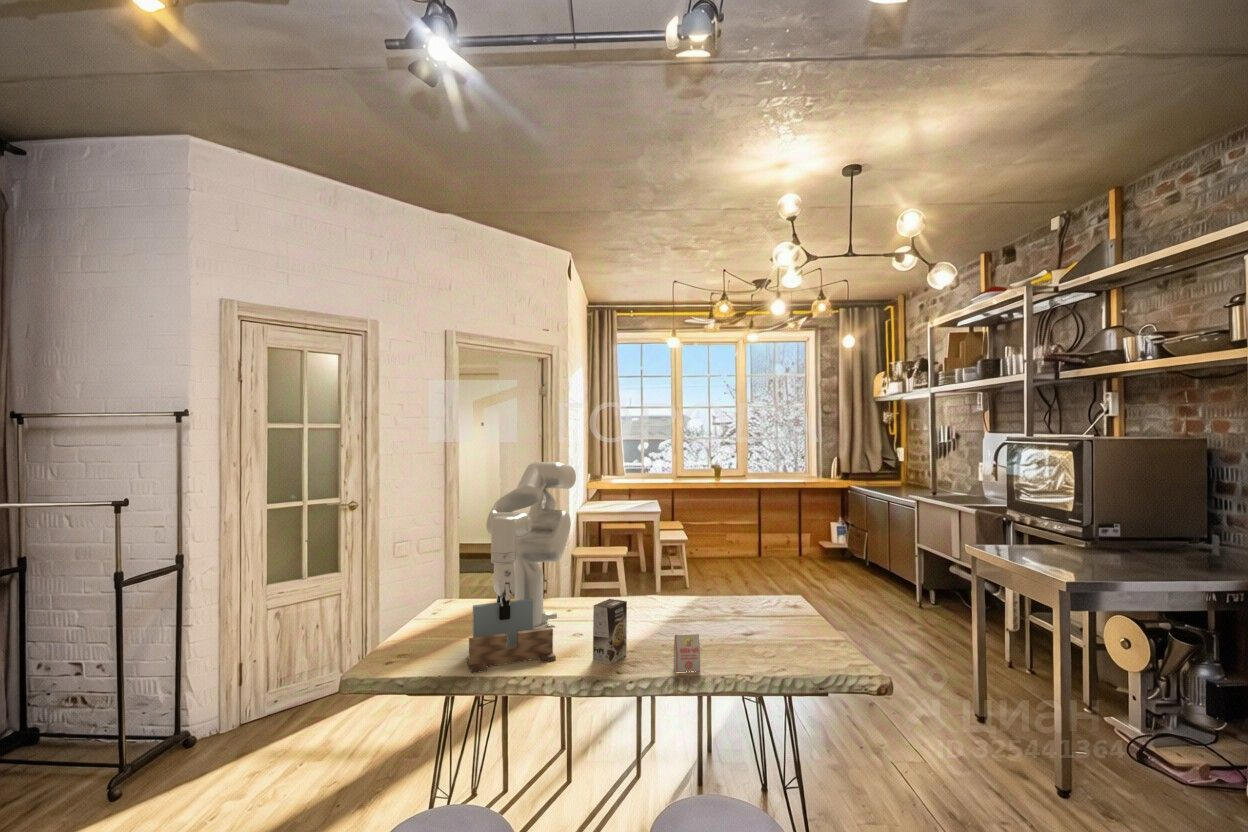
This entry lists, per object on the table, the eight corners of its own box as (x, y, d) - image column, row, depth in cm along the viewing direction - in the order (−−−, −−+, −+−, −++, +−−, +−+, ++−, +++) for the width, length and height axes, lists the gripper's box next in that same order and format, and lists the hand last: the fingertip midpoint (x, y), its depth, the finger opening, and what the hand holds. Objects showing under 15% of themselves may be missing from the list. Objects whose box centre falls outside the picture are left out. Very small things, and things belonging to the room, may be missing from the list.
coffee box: (610, 665, 173) (610, 608, 174) (592, 661, 177) (592, 604, 177) (627, 655, 181) (627, 600, 182) (609, 651, 184) (609, 597, 185)
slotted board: (547, 650, 185) (547, 624, 185) (555, 660, 177) (555, 632, 178) (466, 663, 175) (467, 634, 175) (471, 673, 168) (472, 643, 168)
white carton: (673, 668, 171) (673, 632, 172) (697, 667, 172) (697, 631, 172) (675, 673, 168) (675, 636, 168) (700, 672, 168) (700, 636, 169)
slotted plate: (530, 643, 191) (531, 598, 191) (532, 646, 189) (532, 600, 189) (472, 652, 183) (472, 605, 184) (473, 654, 182) (474, 607, 182)
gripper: (522, 561, 181) (522, 623, 180) (509, 551, 196) (509, 609, 196) (497, 563, 178) (496, 627, 177) (485, 553, 193) (485, 611, 192)
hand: (503, 616), depth 186 cm, fingers open, 3 cm apart
